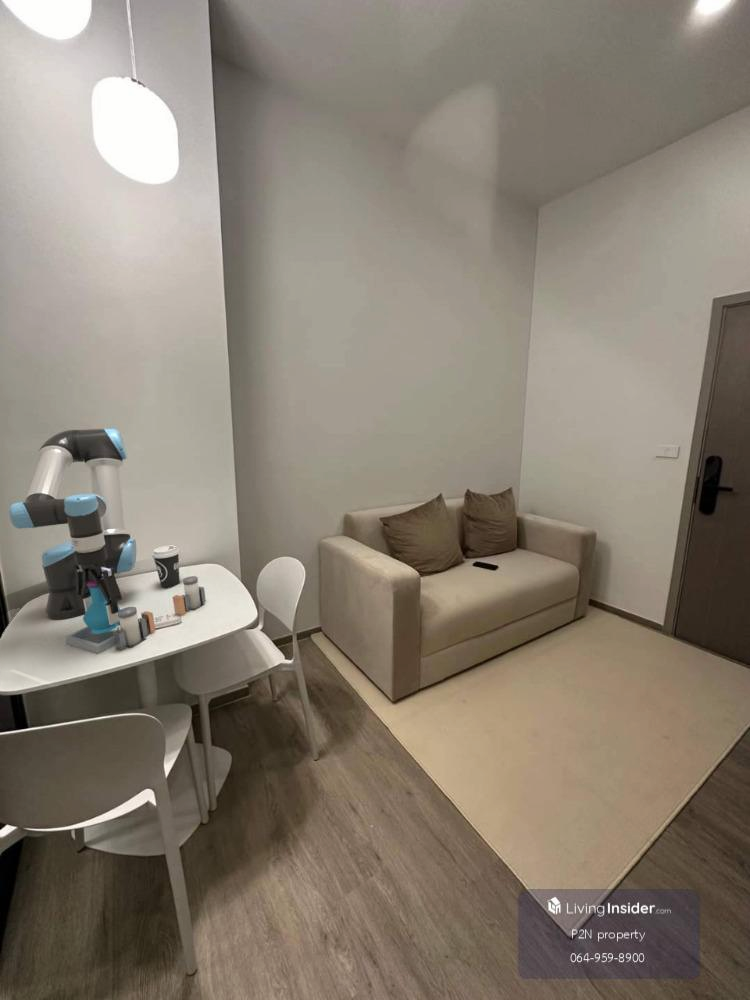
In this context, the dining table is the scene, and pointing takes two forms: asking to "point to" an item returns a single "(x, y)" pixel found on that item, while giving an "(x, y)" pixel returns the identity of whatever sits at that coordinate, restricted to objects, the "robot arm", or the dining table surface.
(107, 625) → the perfume bottle
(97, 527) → the robot arm
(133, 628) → the canister
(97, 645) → the tray
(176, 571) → the coffee cup
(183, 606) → the clip rack
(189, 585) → the canister
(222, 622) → the dining table surface
